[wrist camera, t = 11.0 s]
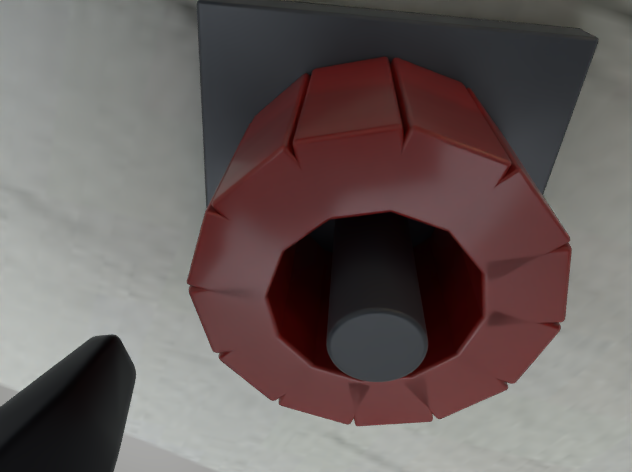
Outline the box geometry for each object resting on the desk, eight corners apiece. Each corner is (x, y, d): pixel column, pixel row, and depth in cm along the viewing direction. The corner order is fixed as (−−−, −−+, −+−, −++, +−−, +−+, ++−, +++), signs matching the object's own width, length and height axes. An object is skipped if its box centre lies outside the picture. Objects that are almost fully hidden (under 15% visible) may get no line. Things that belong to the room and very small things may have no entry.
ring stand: (582, 28, 11) (781, 131, 6) (485, 313, 15) (549, 515, 10) (207, -8, 11) (79, 64, 6) (218, 285, 15) (150, 471, 10)
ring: (551, 71, 10) (646, 148, 7) (472, 314, 14) (510, 443, 10) (231, 40, 10) (171, 102, 7) (235, 290, 14) (196, 410, 11)
